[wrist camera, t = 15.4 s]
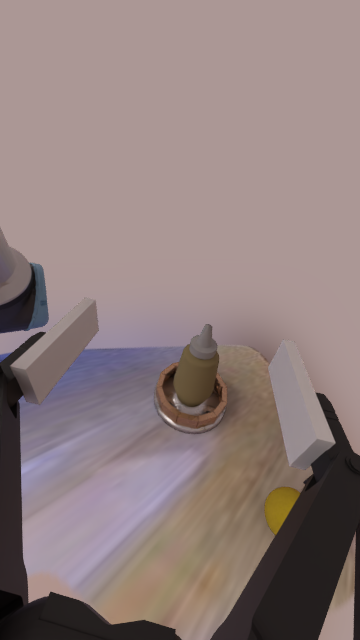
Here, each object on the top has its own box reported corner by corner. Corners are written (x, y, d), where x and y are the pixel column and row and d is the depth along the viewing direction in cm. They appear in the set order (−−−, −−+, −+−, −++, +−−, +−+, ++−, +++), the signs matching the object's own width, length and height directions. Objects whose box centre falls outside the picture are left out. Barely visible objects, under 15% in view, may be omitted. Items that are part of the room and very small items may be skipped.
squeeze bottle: (217, 395, 46) (242, 328, 36) (193, 421, 41) (215, 351, 31) (188, 373, 50) (203, 307, 40) (163, 393, 45) (173, 323, 34)
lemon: (291, 504, 34) (317, 484, 29) (300, 555, 29) (333, 542, 24) (255, 493, 34) (275, 472, 29) (258, 542, 30) (282, 527, 25)
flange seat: (144, 423, 41) (145, 411, 38) (163, 364, 53) (164, 353, 51) (224, 442, 40) (230, 432, 38) (224, 378, 52) (229, 367, 50)
